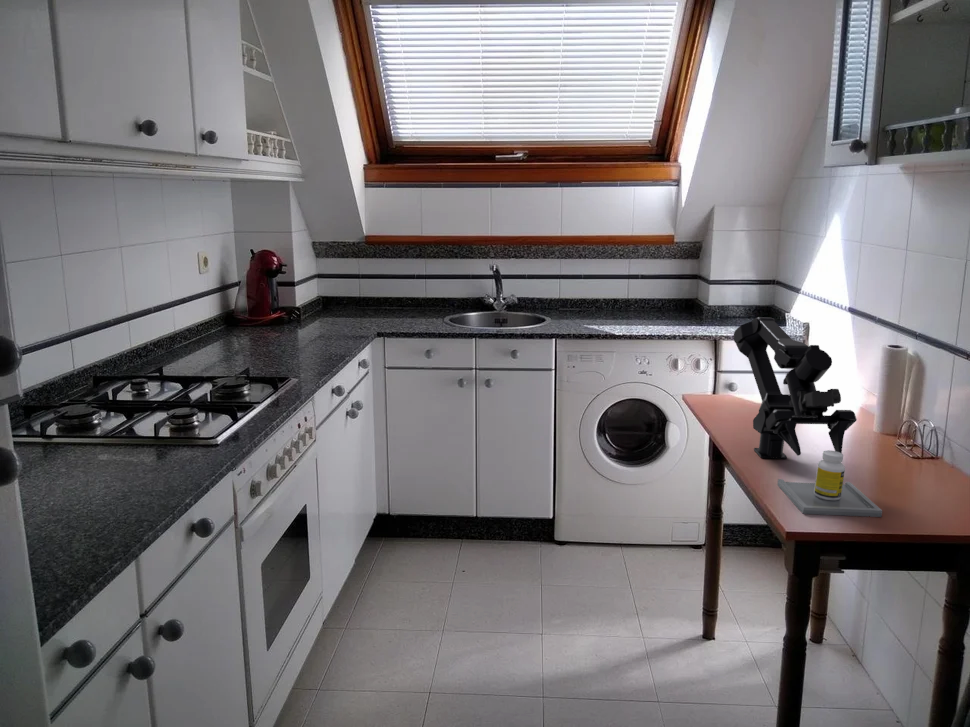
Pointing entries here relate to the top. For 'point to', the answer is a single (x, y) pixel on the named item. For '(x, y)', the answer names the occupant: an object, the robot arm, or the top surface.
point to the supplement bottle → (829, 476)
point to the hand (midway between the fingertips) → (819, 454)
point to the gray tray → (847, 505)
